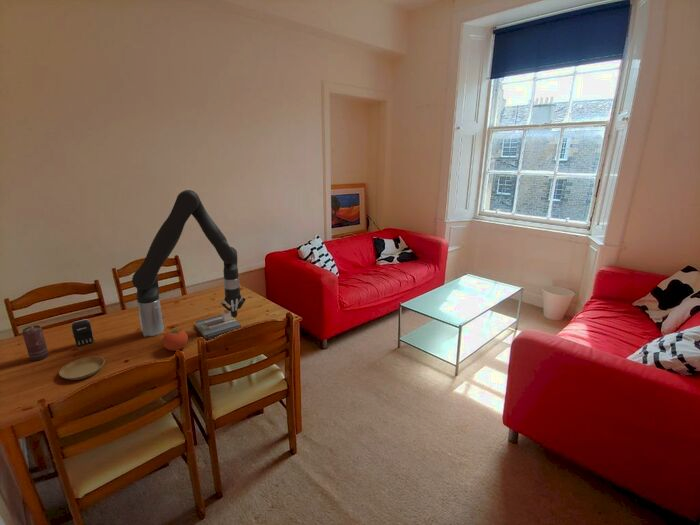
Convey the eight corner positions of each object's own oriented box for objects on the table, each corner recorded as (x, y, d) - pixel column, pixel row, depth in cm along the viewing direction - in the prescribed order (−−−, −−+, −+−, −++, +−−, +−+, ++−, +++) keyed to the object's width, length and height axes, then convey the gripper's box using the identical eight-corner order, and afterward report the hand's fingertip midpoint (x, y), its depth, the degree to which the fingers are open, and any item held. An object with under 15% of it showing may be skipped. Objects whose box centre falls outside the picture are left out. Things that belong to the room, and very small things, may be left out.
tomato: (172, 357, 152) (169, 337, 149) (159, 350, 157) (156, 330, 154) (193, 347, 160) (191, 327, 157) (180, 340, 165) (177, 321, 162)
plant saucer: (79, 386, 133) (78, 380, 132) (50, 379, 136) (49, 373, 135) (114, 365, 146) (113, 359, 145) (87, 359, 150) (86, 353, 149)
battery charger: (76, 348, 157) (70, 325, 154) (75, 344, 160) (70, 322, 156) (95, 343, 162) (90, 320, 158) (94, 339, 164) (89, 317, 161)
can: (46, 351, 154) (39, 323, 149) (50, 357, 150) (42, 328, 146) (28, 357, 149) (20, 328, 145) (31, 363, 145) (23, 333, 141)
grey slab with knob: (208, 340, 167) (208, 336, 166) (196, 324, 181) (195, 321, 180) (241, 330, 176) (240, 327, 176) (226, 316, 191) (226, 313, 190)
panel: (205, 338, 168) (204, 332, 167) (195, 326, 179) (194, 321, 178) (241, 328, 179) (240, 322, 178) (230, 317, 190) (229, 312, 189)
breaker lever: (225, 323, 178) (224, 313, 177) (222, 320, 181) (221, 310, 180) (230, 321, 180) (230, 312, 179) (228, 318, 183) (227, 309, 181)
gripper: (221, 291, 171) (224, 323, 176) (247, 285, 179) (249, 316, 184) (216, 286, 177) (219, 317, 182) (241, 281, 185) (243, 311, 190)
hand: (234, 316), depth 183 cm, fingers closed
